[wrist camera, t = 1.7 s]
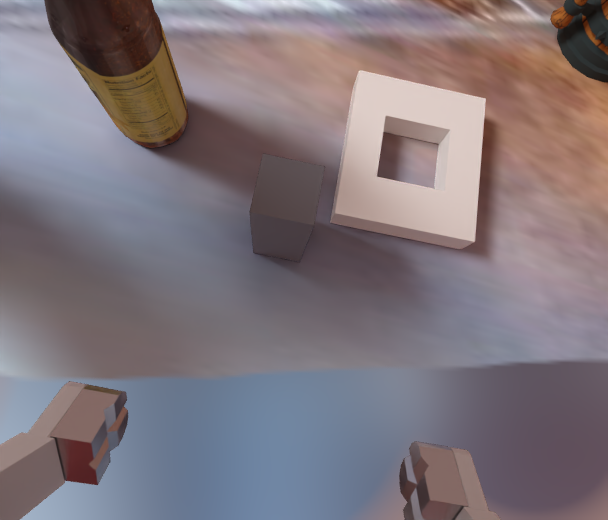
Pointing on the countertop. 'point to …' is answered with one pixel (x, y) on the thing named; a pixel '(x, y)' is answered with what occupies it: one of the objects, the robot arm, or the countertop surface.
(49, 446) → the robot arm
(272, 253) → the plug
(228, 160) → the countertop surface
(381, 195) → the socket
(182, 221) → the countertop surface
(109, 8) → the sauce bottle
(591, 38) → the mug
